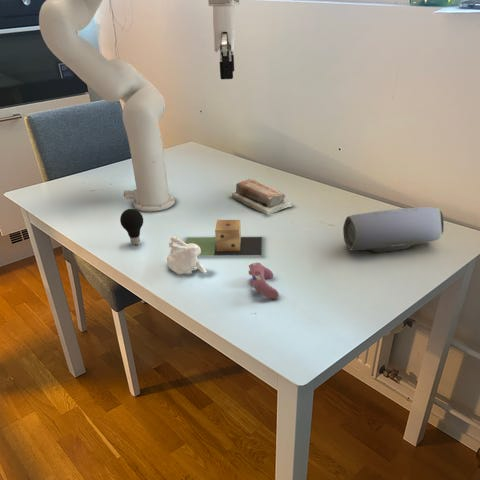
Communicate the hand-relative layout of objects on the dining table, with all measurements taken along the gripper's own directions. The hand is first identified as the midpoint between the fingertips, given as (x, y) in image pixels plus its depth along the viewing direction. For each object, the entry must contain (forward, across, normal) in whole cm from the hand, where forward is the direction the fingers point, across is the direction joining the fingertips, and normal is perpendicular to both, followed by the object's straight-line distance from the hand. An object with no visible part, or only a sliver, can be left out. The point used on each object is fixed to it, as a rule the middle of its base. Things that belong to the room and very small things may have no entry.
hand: (227, 75), depth 131 cm
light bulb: (+36, +25, -26) cm, 51 cm away
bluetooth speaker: (+37, +29, +41) cm, 62 cm away
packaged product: (+36, -1, +8) cm, 37 cm away
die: (+36, +28, 0) cm, 45 cm away
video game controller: (+36, +48, +8) cm, 61 cm away
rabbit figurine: (+36, +40, -11) cm, 55 cm away
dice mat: (+36, +28, -2) cm, 46 cm away
